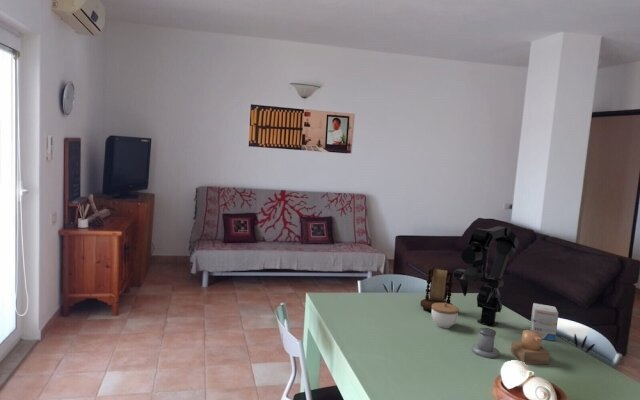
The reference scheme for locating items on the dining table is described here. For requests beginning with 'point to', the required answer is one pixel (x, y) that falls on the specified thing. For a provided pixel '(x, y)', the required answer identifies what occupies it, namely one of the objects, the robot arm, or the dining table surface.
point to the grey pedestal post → (486, 344)
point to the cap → (531, 340)
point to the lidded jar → (444, 314)
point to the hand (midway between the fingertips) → (475, 299)
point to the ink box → (544, 321)
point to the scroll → (437, 288)
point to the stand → (530, 354)
